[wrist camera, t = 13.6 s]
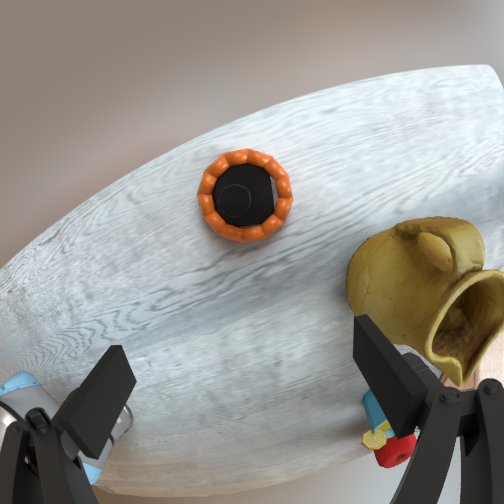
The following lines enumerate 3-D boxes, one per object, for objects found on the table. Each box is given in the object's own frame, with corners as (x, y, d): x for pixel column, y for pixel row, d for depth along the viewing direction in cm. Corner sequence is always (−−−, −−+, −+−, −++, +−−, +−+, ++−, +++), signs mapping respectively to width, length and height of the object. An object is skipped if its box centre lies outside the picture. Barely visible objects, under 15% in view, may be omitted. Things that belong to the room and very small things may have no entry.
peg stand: (215, 228, 41) (195, 253, 27) (206, 169, 39) (180, 161, 25) (275, 220, 41) (288, 241, 26) (267, 160, 39) (276, 146, 24)
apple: (380, 439, 54) (395, 476, 41) (357, 432, 53) (372, 473, 40) (409, 414, 52) (429, 450, 39) (388, 405, 51) (410, 445, 38)
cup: (402, 367, 48) (433, 412, 34) (406, 388, 50) (434, 431, 35) (343, 398, 50) (363, 450, 35) (352, 416, 51) (370, 465, 37)
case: (506, 323, 47) (542, 349, 31) (473, 387, 52) (500, 419, 36) (467, 319, 46) (510, 353, 30) (429, 393, 51) (458, 434, 35)
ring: (211, 248, 41) (209, 251, 39) (191, 162, 38) (188, 161, 36) (298, 230, 40) (300, 233, 38) (280, 143, 37) (282, 140, 35)
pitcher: (319, 309, 44) (385, 411, 20) (353, 198, 41) (468, 208, 16) (398, 324, 46) (480, 399, 21) (430, 229, 42) (539, 259, 18)
